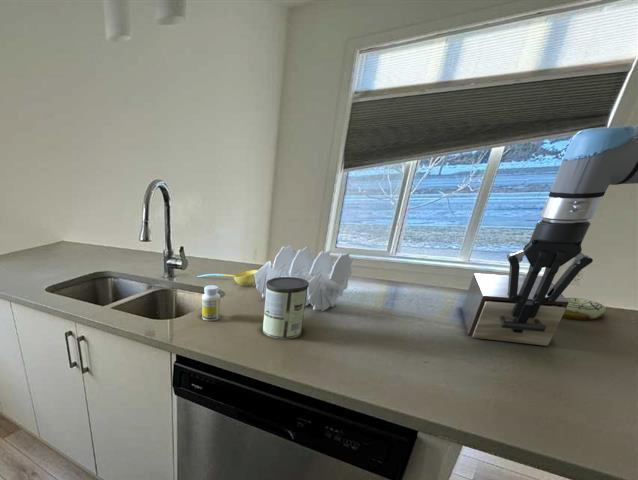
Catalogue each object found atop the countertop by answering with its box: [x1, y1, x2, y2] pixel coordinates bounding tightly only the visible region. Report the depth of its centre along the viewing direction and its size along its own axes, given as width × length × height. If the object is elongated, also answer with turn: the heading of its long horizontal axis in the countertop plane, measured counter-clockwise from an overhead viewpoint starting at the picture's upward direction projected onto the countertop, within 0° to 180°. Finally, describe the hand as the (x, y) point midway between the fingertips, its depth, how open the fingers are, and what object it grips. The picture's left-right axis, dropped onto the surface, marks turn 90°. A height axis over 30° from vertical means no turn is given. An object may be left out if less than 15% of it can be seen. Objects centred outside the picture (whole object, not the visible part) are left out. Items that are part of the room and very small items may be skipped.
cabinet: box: [461, 273, 569, 337], centre depth 100 cm, size 20×15×11 cm
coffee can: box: [262, 277, 309, 339], centre depth 107 cm, size 10×10×14 cm
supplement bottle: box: [201, 284, 221, 322], centre depth 122 cm, size 5×5×10 cm
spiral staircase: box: [254, 244, 354, 311], centre depth 123 cm, size 18×18×25 cm
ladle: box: [197, 269, 259, 287], centre depth 154 cm, size 9×26×6 cm, turn 43°
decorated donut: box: [562, 296, 607, 321], centre depth 104 cm, size 10×11×4 cm
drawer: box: [471, 299, 566, 347], centre depth 96 cm, size 24×13×9 cm, turn 149°
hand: (516, 330), depth 91 cm, fingers closed
